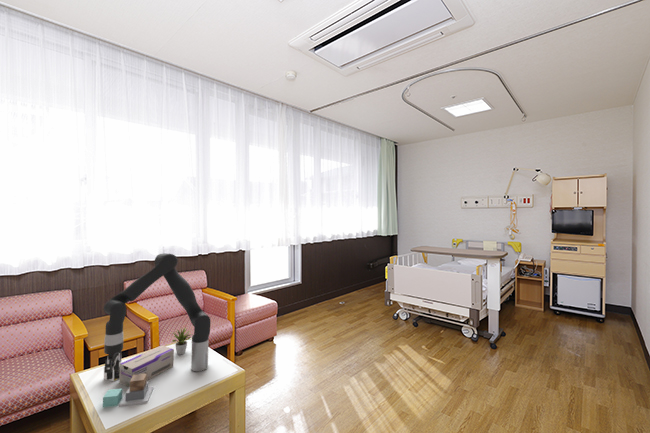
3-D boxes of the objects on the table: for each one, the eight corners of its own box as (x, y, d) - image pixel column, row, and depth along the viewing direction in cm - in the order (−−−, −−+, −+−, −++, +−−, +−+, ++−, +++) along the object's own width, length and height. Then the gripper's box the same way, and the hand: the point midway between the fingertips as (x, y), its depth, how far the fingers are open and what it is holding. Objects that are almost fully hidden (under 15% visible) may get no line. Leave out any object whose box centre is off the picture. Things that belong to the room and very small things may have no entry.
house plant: (175, 361, 187) (175, 335, 186) (163, 354, 194) (163, 329, 194) (196, 352, 199) (196, 328, 198) (183, 346, 206) (184, 322, 206)
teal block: (122, 398, 151) (122, 388, 150) (117, 406, 145) (117, 395, 145) (108, 399, 149) (108, 389, 149) (102, 407, 143) (102, 397, 143)
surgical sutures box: (131, 388, 158) (132, 368, 158) (119, 383, 163) (119, 363, 163) (173, 366, 181) (173, 349, 181) (161, 362, 186) (161, 345, 185)
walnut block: (146, 382, 156) (146, 373, 155) (143, 389, 150) (143, 379, 150) (133, 384, 154) (133, 374, 154) (129, 391, 148) (129, 381, 148)
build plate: (153, 388, 159) (153, 379, 159) (147, 402, 148) (147, 392, 148) (127, 391, 156) (127, 382, 156) (119, 406, 144) (119, 396, 144)
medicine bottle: (114, 381, 164) (114, 360, 163) (103, 379, 165) (103, 358, 165) (125, 374, 171) (125, 353, 170) (114, 372, 172) (115, 352, 172)
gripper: (117, 347, 140) (116, 381, 141) (127, 334, 154) (126, 365, 154) (98, 348, 138) (97, 383, 139) (110, 335, 152) (109, 367, 152)
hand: (113, 374), depth 146 cm, fingers open, 8 cm apart
